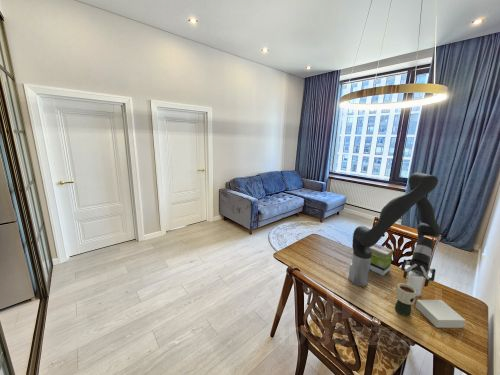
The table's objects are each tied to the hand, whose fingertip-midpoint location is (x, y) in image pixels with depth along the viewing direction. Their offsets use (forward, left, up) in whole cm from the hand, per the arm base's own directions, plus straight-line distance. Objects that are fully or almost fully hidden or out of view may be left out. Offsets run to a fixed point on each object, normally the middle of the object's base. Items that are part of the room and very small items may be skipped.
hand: (414, 282), depth 113 cm
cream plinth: (+1, -15, -7) cm, 17 cm away
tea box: (-7, +24, -7) cm, 26 cm away
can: (+1, +1, -7) cm, 7 cm away
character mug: (-14, -13, -7) cm, 20 cm away
